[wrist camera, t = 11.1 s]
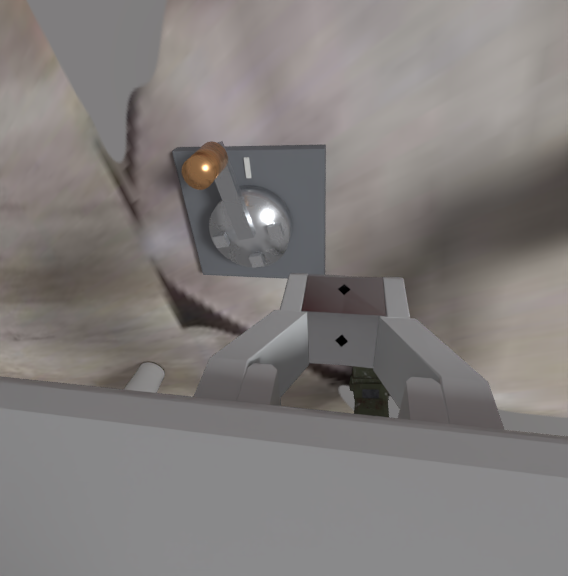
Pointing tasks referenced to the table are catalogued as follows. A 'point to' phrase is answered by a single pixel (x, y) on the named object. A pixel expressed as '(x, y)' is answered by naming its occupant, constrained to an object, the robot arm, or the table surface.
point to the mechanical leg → (368, 393)
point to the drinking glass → (146, 378)
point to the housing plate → (280, 180)
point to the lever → (240, 210)
